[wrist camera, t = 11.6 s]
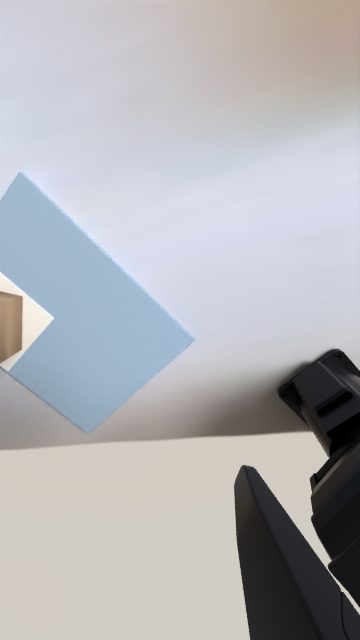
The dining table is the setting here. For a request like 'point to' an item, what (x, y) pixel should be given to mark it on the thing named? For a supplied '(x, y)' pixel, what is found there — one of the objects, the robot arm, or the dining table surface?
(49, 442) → the dining table surface
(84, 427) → the board
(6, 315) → the walnut column
